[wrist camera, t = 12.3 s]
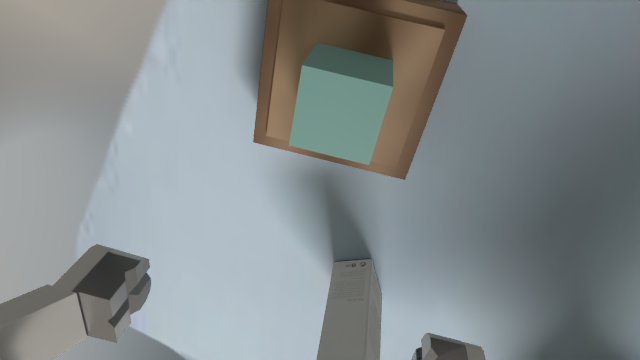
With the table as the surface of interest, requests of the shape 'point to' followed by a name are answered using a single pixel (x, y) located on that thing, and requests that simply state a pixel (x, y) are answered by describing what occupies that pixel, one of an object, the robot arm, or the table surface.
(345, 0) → the tray
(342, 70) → the teal cube
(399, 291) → the table surface
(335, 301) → the skincare box
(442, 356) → the robot arm
